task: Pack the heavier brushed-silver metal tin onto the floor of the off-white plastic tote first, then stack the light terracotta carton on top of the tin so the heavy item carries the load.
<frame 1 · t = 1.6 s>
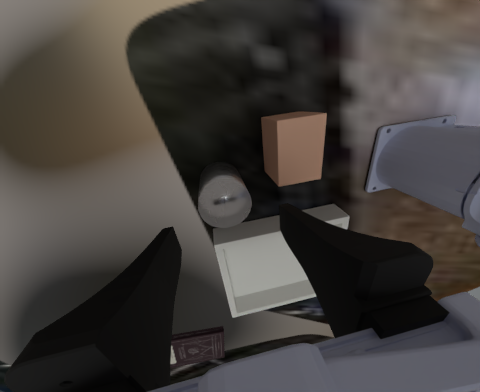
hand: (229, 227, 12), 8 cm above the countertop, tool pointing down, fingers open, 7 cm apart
chocolate bar: (174, 347, 33), on the countertop
carton: (281, 142, 19), on the countertop
tote: (276, 255, 26), on the countertop
tin: (220, 181, 20), on the countertop
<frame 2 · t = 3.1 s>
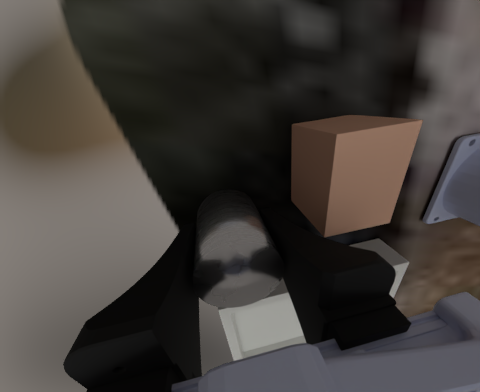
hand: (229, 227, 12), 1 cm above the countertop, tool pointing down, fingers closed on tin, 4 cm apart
carton: (317, 160, 13), on the countertop
tote: (298, 301, 20), on the countertop
tin: (227, 216, 13), on the countertop, touching gripper
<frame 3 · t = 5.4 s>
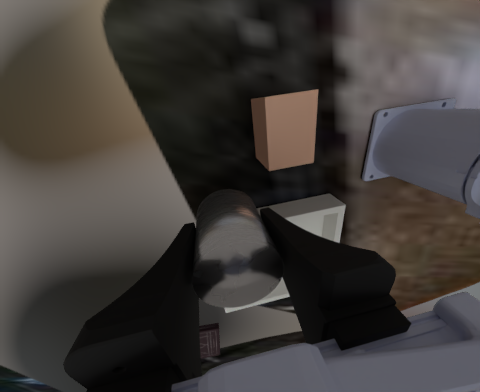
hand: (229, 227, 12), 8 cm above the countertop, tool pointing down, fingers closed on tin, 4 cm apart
chocolate bar: (168, 344, 32), on the countertop
carton: (272, 127, 18), on the countertop
tote: (271, 248, 25), on the countertop
tin: (227, 215, 13), point 7 cm above the countertop, touching gripper
when the fingers open (3 cm above the countertop, at t = 8.0 s): tin stays where it is, resting on tote.
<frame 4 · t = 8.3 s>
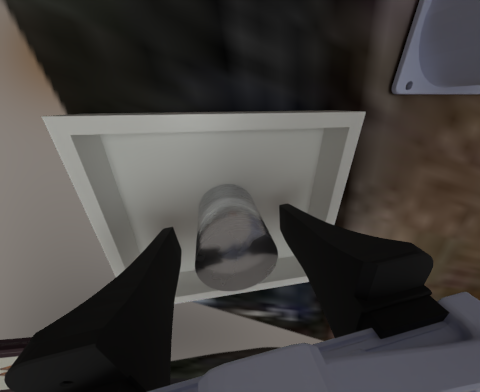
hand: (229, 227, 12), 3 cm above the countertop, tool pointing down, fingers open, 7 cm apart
chocolate bar: (58, 356, 21), on the countertop
tote: (225, 205, 15), on the countertop
tin: (226, 209, 14), point 1 cm above the countertop, touching tote
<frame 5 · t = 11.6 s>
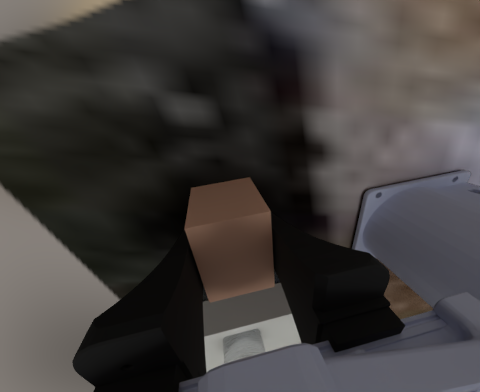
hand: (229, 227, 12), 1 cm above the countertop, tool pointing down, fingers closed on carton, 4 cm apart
carton: (227, 216, 13), on the countertop, touching gripper
tote: (240, 332, 21), on the countertop
tin: (242, 338, 20), point 1 cm above the countertop, touching tote
when the fingers open (8 cm above the countertop, at t = 16.4 s): carton stays where it is, resting on tin.
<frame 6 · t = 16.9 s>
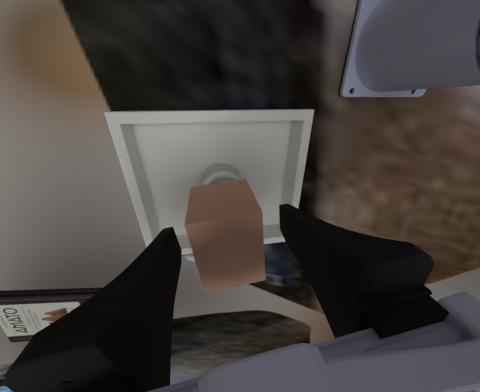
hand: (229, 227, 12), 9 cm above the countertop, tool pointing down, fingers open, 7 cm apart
chocolate bar: (87, 308, 25), on the countertop
carton: (223, 213, 14), point 6 cm above the countertop, touching tin
tote: (220, 180, 20), on the countertop
tin: (221, 183, 19), point 1 cm above the countertop, touching carton, tote
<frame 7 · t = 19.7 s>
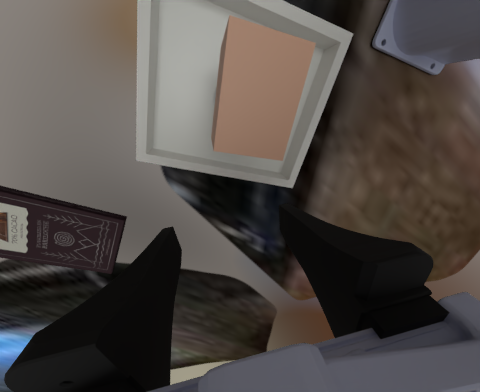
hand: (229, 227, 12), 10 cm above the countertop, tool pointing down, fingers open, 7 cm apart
chocolate bar: (34, 225, 21), on the countertop
carton: (243, 102, 13), point 6 cm above the countertop, touching tin
tote: (234, 101, 18), on the countertop
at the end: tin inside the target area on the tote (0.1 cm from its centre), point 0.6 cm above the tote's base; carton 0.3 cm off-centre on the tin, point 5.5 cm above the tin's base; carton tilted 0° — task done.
